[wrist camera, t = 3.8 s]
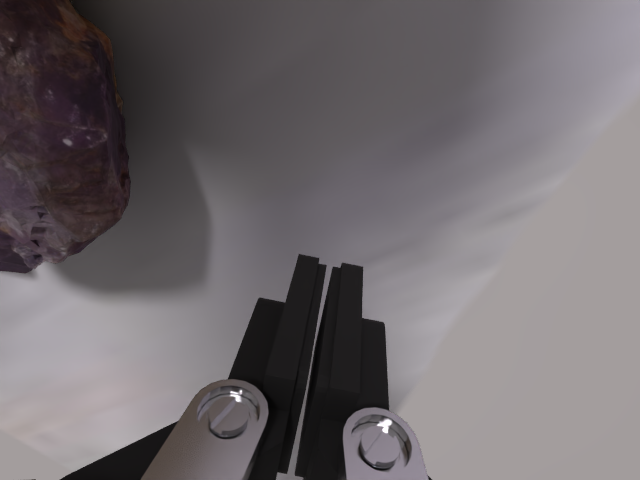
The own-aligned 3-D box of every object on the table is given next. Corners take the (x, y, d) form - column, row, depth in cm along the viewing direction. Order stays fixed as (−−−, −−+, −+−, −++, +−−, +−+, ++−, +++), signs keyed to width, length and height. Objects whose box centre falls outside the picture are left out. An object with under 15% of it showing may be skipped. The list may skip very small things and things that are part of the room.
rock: (-6, 149, 22) (173, 222, 23) (-186, 252, 15) (75, 349, 16) (-55, -125, 14) (213, 2, 15) (-444, -150, 8) (63, 73, 9)
